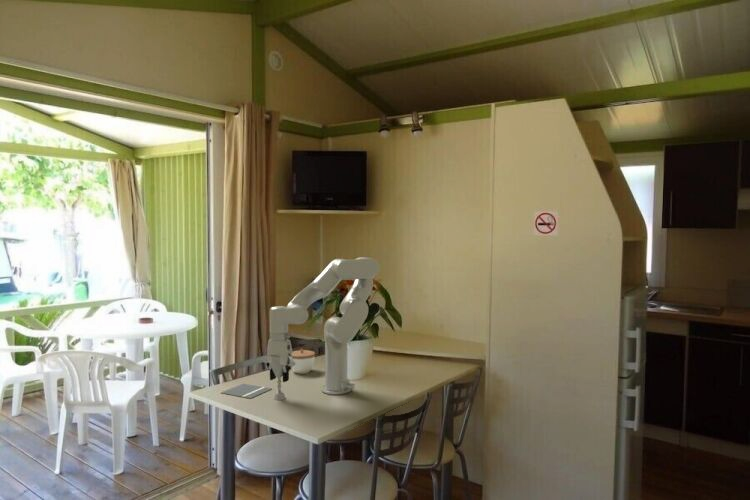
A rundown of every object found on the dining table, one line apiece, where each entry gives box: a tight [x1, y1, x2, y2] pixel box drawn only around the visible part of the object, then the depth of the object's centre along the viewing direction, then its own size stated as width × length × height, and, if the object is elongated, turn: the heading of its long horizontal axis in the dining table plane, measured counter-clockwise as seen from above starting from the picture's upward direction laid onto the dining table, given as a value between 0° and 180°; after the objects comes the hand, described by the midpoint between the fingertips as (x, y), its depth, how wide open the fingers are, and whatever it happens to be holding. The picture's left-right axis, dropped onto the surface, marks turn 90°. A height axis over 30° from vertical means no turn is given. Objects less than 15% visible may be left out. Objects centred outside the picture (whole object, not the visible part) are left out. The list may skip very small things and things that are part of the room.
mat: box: [220, 383, 273, 400], centre depth 215 cm, size 16×14×1 cm
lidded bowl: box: [291, 348, 316, 375], centre depth 246 cm, size 13×13×11 cm
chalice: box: [270, 355, 286, 401], centre depth 206 cm, size 7×7×18 cm
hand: (279, 379), depth 206 cm, fingers closed on chalice, 5 cm apart
